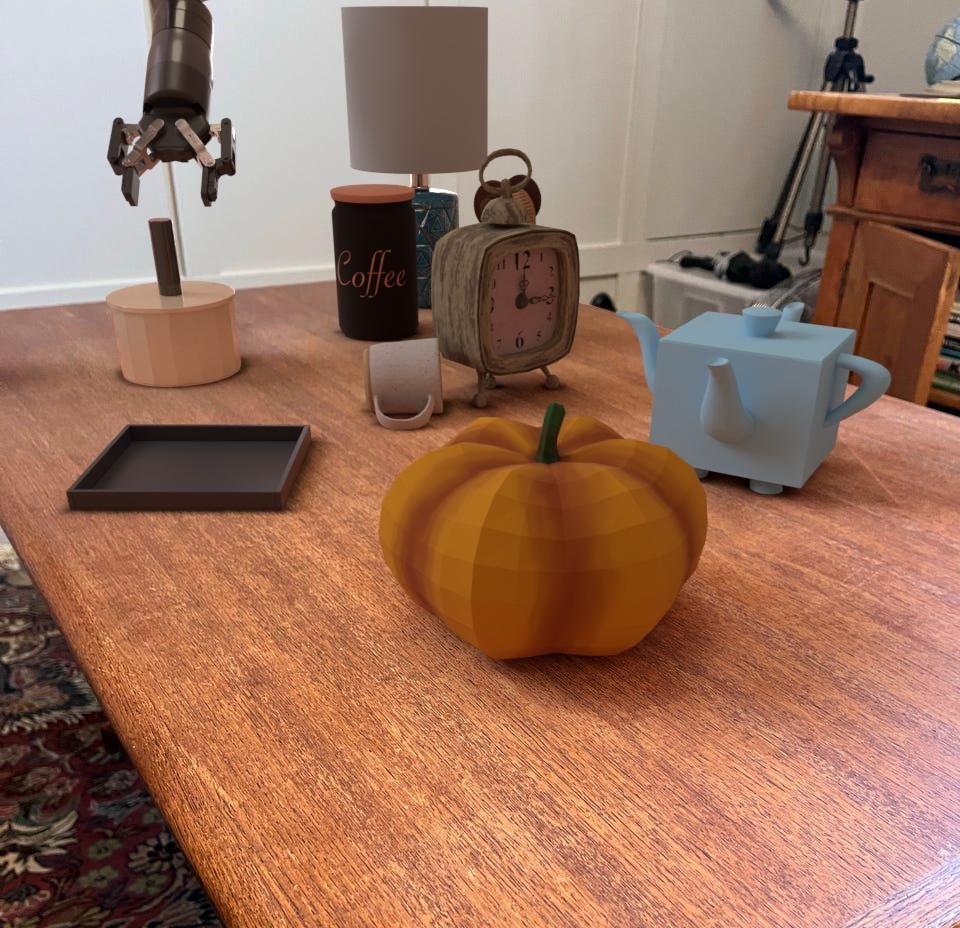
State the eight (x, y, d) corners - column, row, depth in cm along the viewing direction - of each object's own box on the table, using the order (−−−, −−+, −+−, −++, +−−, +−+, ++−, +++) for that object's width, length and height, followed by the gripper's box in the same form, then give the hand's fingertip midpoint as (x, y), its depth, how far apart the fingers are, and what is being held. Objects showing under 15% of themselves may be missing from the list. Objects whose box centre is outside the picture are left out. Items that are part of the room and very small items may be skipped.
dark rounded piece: (527, 366, 124) (532, 188, 113) (427, 349, 130) (423, 179, 120) (582, 339, 135) (590, 174, 124) (487, 324, 141) (487, 167, 131)
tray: (70, 513, 86) (65, 491, 85) (130, 443, 100) (126, 424, 99) (282, 513, 86) (280, 491, 85) (311, 443, 100) (310, 424, 99)
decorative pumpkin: (384, 557, 79) (374, 364, 71) (664, 549, 80) (684, 359, 72) (380, 704, 61) (367, 471, 54) (737, 691, 63) (774, 461, 55)
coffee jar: (328, 341, 133) (317, 193, 124) (355, 322, 142) (347, 182, 133) (405, 346, 131) (400, 196, 122) (428, 326, 140) (425, 185, 131)
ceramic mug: (368, 401, 112) (364, 330, 108) (442, 399, 112) (441, 329, 108) (364, 435, 103) (359, 360, 99) (444, 434, 103) (443, 359, 99)
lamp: (391, 325, 141) (377, 5, 121) (339, 297, 155) (318, 8, 136) (510, 309, 149) (515, 6, 129) (450, 284, 163) (446, 9, 144)
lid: (89, 319, 111) (72, 230, 106) (129, 290, 123) (115, 209, 119) (221, 319, 111) (209, 230, 106) (247, 291, 123) (237, 209, 119)
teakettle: (883, 499, 89) (921, 328, 81) (686, 521, 85) (707, 343, 77) (775, 429, 104) (799, 280, 97) (604, 444, 100) (615, 291, 93)
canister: (108, 389, 116) (93, 313, 111) (142, 356, 127) (130, 286, 123) (227, 389, 115) (217, 313, 111) (250, 356, 127) (242, 286, 123)
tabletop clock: (476, 416, 107) (476, 156, 95) (425, 396, 113) (418, 149, 101) (574, 390, 115) (587, 147, 103) (522, 372, 121) (527, 141, 109)
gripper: (107, 58, 116) (94, 179, 112) (231, 58, 116) (223, 180, 112) (129, 107, 123) (117, 223, 119) (246, 107, 123) (238, 223, 119)
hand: (168, 202), depth 116 cm, fingers open, 8 cm apart
